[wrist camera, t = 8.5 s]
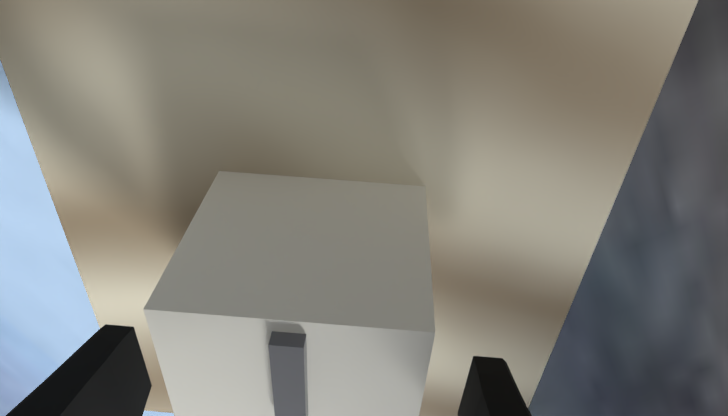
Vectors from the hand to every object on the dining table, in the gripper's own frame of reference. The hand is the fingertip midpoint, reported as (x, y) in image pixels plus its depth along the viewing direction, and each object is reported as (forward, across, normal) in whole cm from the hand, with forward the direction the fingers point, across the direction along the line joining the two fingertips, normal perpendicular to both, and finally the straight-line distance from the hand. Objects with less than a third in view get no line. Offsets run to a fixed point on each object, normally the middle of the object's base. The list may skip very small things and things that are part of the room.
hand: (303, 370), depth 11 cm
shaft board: (+4, 0, 0) cm, 5 cm away
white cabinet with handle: (+3, 0, 0) cm, 4 cm away
